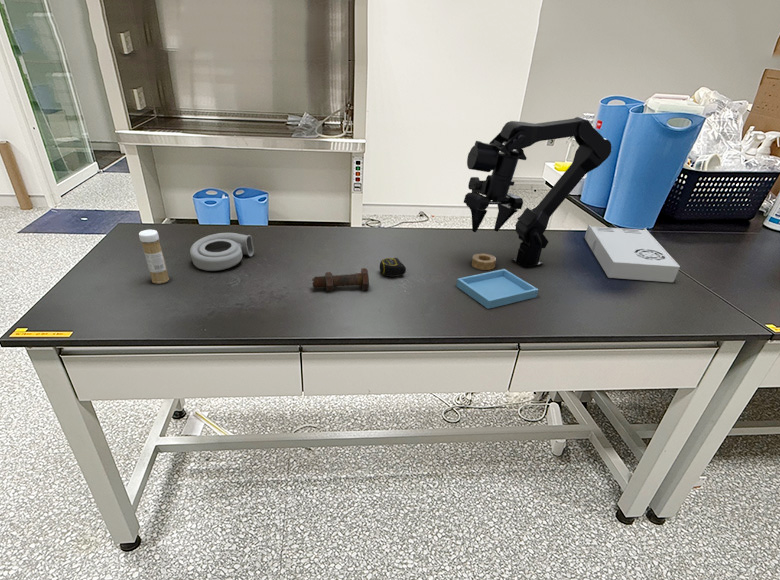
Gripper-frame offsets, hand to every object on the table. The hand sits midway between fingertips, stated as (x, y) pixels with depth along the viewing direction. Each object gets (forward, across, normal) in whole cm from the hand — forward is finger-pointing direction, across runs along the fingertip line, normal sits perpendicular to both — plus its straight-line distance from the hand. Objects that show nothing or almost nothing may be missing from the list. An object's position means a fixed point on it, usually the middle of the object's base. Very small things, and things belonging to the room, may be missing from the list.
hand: (485, 231), depth 144 cm
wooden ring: (+10, -3, +1) cm, 11 cm away
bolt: (+18, +42, -8) cm, 46 cm away
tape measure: (+15, +24, -9) cm, 29 cm away
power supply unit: (+3, -46, +20) cm, 51 cm away
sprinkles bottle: (+25, +80, -37) cm, 92 cm away
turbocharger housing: (+23, +62, -42) cm, 78 cm away
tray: (+11, +6, +16) cm, 20 cm away
